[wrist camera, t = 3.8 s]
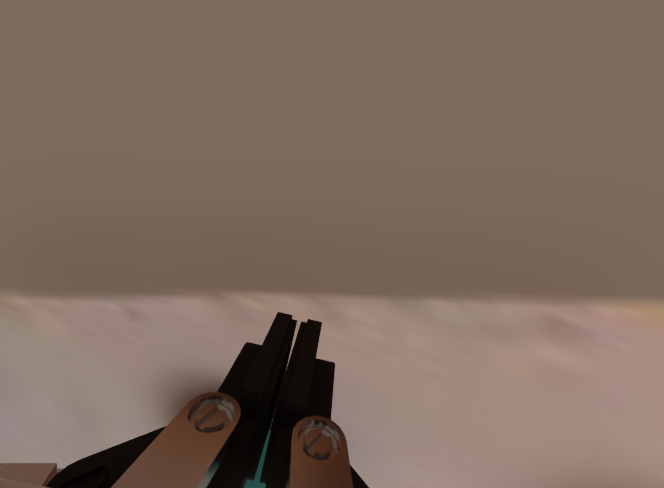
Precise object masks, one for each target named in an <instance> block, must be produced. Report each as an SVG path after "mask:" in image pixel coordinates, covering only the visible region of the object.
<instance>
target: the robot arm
mask: <svg viewBox="0 0 664 488" xmlns="http://www.w3.org/2000/svg"><path fill="white" fill-rule="evenodd" d="M296 323H297V320H293V319H292V315H289V314H284V313H280V312H278V313H277V315H276V317H275V319H274V321H273V323H272V326H271V328H270V330H269V332H268V334H267V336H266V338H265V340H264V342H263V344H262V345H257V344H253V343H249V342H247V343H246V344H245V345H244V347H243V348H242V350H241V352H240V354H239V355H238V357H237V359H236V361H235V362H234V364H233V366H232V368H231V369H230V371H229V373H228V374H227V376H226V378H225V380H224V381H223V383H222V385H221V387H220V388H219V390H218V392H209V393H205V394H201V395H199V396H197V397H195V398H193V399H192V400H191V401H190V402H189V403H187V404H186V405H185V407H184V408H183V409H182V410H181V411H180V412H179V413H178V414H177V415H176V416H175V418H174V419H173V420H172V421H171V422H170V423H169V424H168V425H167V426H165V427H163V428H160V429H158V430H155V431H152V432H150V433H147V434H145V435H142V436H140V437H137V438H134V439H132V440H129V441H127V442H124V443H122V444H119V445H116V446H114V447H111V448H109V449H106V450H104V451H101V452H98V453H96V454H93V455H91V456H88V457H85V458H83V459H81V460H79V461H76V462H74V463H72V464H70V465H68V466H67V467H66V468H64V469H57V463H0V488H244V486H245V483H246V480H247V479H248V480H252V481H254V478H255V475H256V472H257V468H258V465H259V462H260V458H261V455H262V452H263V449H264V445H265V442H266V439H267V435H268V432H269V429H270V425H271V422H272V419H273V423H272V427H271V432H270V436H269V441H268V446H267V450H266V455H265V459H264V464H263V468H262V473H261V477H260V482H261V483H265V484H266V486H265V488H369V487H368V486H367V485H366V484H365V482H364V481H363V480H362V479H361V478H360V476H359V475H358V474H357V473H356V471H355V470H354V469H353V468H352V467H351V465H350V462H349V455H348V448H347V441H346V438H345V435H344V433H343V431H342V430H341V428H340V427H339V426H338V425H337V424H336V423H335V422H333V421H332V420H331V409H332V396H333V383H334V370H335V363H333V362H329V361H325V360H321V359H317V358H316V353H317V347H318V342H319V336H320V331H321V325H322V322H318V321H314V320H310V319H308V321H307V323H305V322H301V324H300V328H299V331H298V334H297V337H296V341H295V344H294V347H293V350H292V354H291V357H290V360H289V364H288V359H289V355H290V350H291V346H292V341H293V337H294V332H295V328H296ZM287 364H288V367H287ZM286 368H287V370H286ZM285 372H286V373H285ZM274 412H275V414H274ZM273 416H274V418H273Z"/></svg>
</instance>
